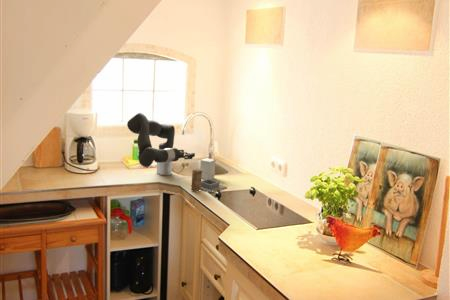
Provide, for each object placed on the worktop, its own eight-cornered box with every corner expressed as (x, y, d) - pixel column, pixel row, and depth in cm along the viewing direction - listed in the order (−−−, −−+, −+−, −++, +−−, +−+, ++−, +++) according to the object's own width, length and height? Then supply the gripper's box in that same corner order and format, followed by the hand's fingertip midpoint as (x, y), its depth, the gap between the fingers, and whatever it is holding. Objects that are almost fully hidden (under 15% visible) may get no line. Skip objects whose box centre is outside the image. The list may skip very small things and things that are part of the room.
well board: (190, 186, 292) (191, 181, 292) (207, 181, 305) (208, 176, 304) (210, 192, 283) (210, 187, 282) (226, 188, 295) (227, 182, 294)
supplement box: (214, 178, 314) (216, 159, 311) (208, 180, 308) (210, 161, 305) (205, 175, 318) (206, 157, 315) (199, 178, 311) (200, 159, 309)
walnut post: (191, 190, 284) (192, 169, 281) (195, 189, 287) (197, 168, 284) (196, 192, 282) (197, 171, 279) (200, 191, 285) (201, 170, 282)
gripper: (159, 158, 263) (178, 156, 276) (178, 164, 255) (197, 162, 268) (161, 145, 262) (180, 144, 275) (180, 151, 253) (199, 149, 267)
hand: (188, 153), depth 271 cm, fingers open, 8 cm apart
